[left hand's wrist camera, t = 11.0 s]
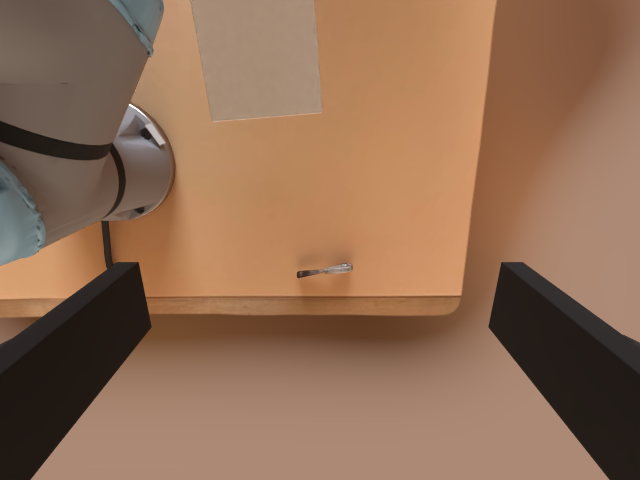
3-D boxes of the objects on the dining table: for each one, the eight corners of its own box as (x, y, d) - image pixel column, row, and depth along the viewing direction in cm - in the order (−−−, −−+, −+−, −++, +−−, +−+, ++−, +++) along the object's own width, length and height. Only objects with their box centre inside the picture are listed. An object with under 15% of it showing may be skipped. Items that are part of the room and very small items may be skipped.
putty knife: (352, 267, 49) (353, 272, 47) (298, 276, 49) (297, 281, 48) (351, 261, 49) (352, 266, 47) (296, 270, 49) (296, 275, 48)
